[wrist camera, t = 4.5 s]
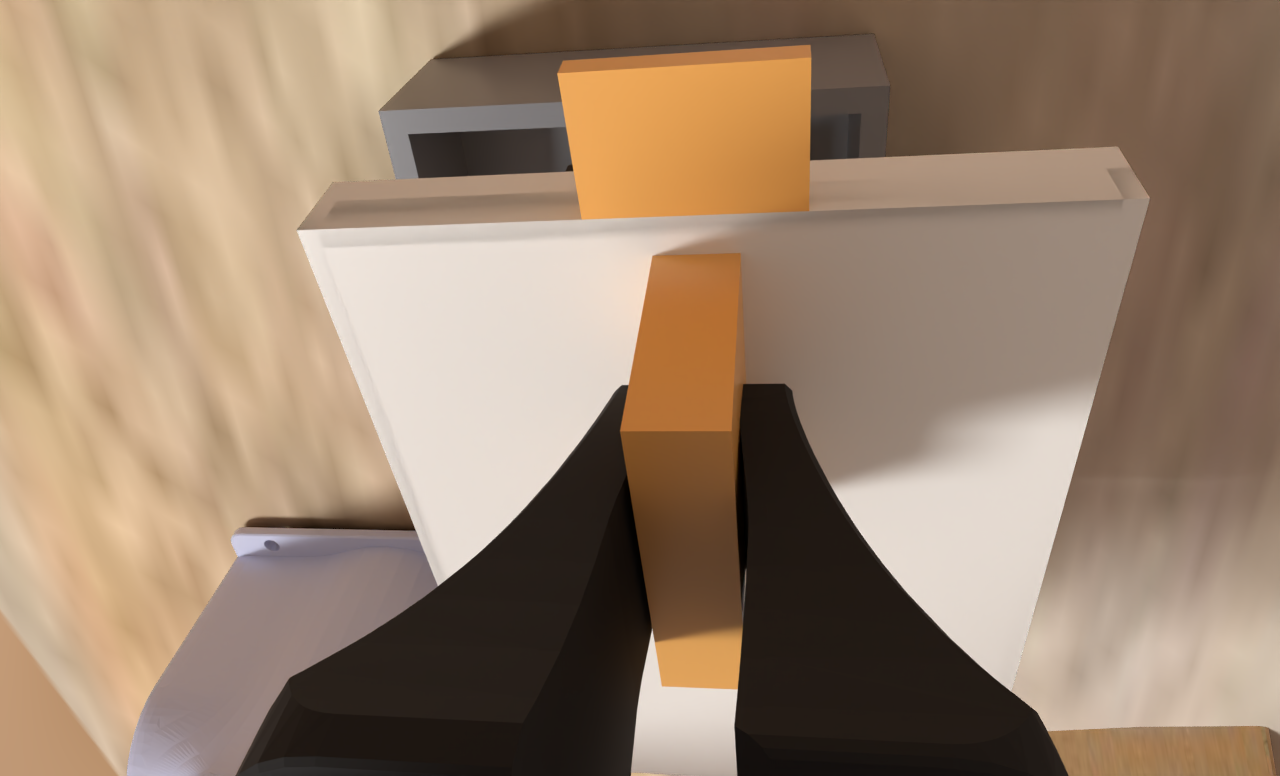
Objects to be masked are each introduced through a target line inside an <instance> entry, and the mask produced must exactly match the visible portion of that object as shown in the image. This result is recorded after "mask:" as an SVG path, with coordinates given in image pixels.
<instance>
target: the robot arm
mask: <svg viewBox="0 0 1280 776" xmlns="http://www.w3.org/2000/svg"><path fill="white" fill-rule="evenodd" d="M628 386H629V385H621V386H620V387H619V388H618V389H617V390H616V391H615V392H614V393H613V395H612V397H611V398H610V400H609V401H608V403H607V404H606V406H605V407H604V409H603V410H602V412H601V413H600V414H599V416H598V417H597V419H596V420H595V422H594V423H593V424H592V426H591V427H590V429H589V430H588V431H587V433H586V434H585V435H584V437H583V438H582V440H581V441H580V442H579V444H578V445H577V446H576V447H575V449H574V450H573V451H572V452H571V454H570V455H569V456H568V458H567V459H566V460H565V461H564V463H563V464H562V465H561V467H560V468H559V469H558V470H557V472H556V473H555V474H554V475H553V476H552V478H551V479H550V480H549V481H548V482H547V483H546V484H545V486H544V487H543V488H542V489H541V490H540V491H539V492H538V493H537V495H536V496H535V497H534V498H533V499H532V500H531V501H530V502H529V504H528V505H527V506H526V507H525V508H524V509H523V510H522V511H521V512H520V513H519V515H518V516H517V517H516V518H515V519H514V520H513V521H512V522H511V523H510V524H509V525H508V526H507V527H506V528H505V529H504V530H503V531H502V532H501V533H500V534H499V535H498V536H497V537H495V538H494V539H493V540H492V541H491V542H490V543H489V544H488V545H487V546H486V547H485V548H484V549H483V550H481V551H480V552H479V553H478V554H477V555H476V556H475V557H474V558H472V559H471V560H470V561H469V562H468V563H466V564H465V565H464V566H463V567H462V568H460V569H459V570H458V571H457V572H455V573H454V574H453V575H452V576H450V577H449V578H448V579H446V580H445V581H444V582H443V583H441V584H440V585H439V586H438V585H437V582H436V580H435V577H434V575H433V572H432V570H431V567H430V565H429V562H428V560H427V557H426V555H425V552H424V550H423V547H422V545H421V542H420V540H419V537H418V534H417V532H416V531H400V530H353V529H306V528H259V527H242V528H239V529H237V530H236V531H235V533H234V534H233V536H232V538H231V543H232V546H233V548H234V550H235V552H236V554H237V556H238V557H237V559H236V560H235V562H234V563H233V565H232V566H231V568H230V570H229V571H228V573H227V574H226V576H225V577H224V579H223V580H222V582H221V584H220V585H219V587H218V588H217V590H216V591H215V593H214V594H213V596H212V598H211V599H210V601H209V602H208V604H207V605H206V607H205V609H204V610H203V612H202V613H201V615H200V616H199V618H198V619H197V621H196V623H195V624H194V626H193V627H192V629H191V630H190V632H189V633H188V635H187V637H186V638H185V640H184V641H183V643H182V644H181V646H180V648H179V649H178V651H177V652H176V654H175V655H174V657H173V658H172V660H171V662H170V663H169V665H168V666H167V668H166V669H165V671H164V672H163V674H162V676H161V677H160V679H159V680H158V682H157V683H156V685H155V687H154V688H153V690H152V692H151V694H150V695H149V697H148V699H147V701H146V703H145V706H144V708H143V710H142V713H141V715H140V718H139V721H138V724H137V727H136V729H135V733H134V737H133V740H132V744H131V749H130V754H129V759H128V767H127V776H631V766H632V757H633V747H634V737H635V727H636V717H637V707H638V701H639V695H640V688H641V682H642V676H643V672H644V667H645V662H646V657H647V652H648V647H649V643H650V638H651V633H652V623H651V617H650V611H649V605H648V599H647V593H646V586H645V580H644V574H643V568H642V562H641V556H640V550H639V544H638V538H637V532H636V525H635V519H634V513H633V507H632V501H631V495H630V489H629V483H628V477H627V471H626V464H625V458H624V452H623V446H622V440H621V434H620V429H621V424H622V418H623V413H624V407H625V402H626V396H627V391H628ZM740 442H741V466H742V490H743V513H744V537H745V561H746V585H745V601H744V616H743V630H742V643H741V657H740V668H739V680H738V691H737V702H736V713H735V723H734V730H735V747H736V763H737V776H1069V775H1068V773H1067V771H1066V768H1065V766H1064V764H1063V762H1062V760H1061V758H1060V755H1059V753H1058V751H1057V749H1056V747H1055V745H1054V743H1053V741H1052V739H1051V737H1050V735H1049V733H1048V732H1047V730H1046V728H1045V726H1044V724H1043V722H1042V720H1041V719H1040V717H1039V715H1038V713H1037V712H1036V711H1035V710H1034V709H1032V708H1031V707H1030V706H1029V705H1027V704H1026V703H1025V702H1024V701H1022V700H1021V699H1020V698H1019V697H1017V696H1016V695H1015V694H1014V693H1012V692H1011V691H1010V690H1009V689H1007V688H1006V687H1005V686H1004V685H1002V684H1001V683H1000V682H999V681H997V680H996V679H995V678H994V677H993V676H991V675H990V674H989V673H988V672H987V671H985V670H984V669H983V668H982V667H981V666H980V665H979V664H978V663H976V662H975V661H974V660H973V659H972V658H971V657H970V656H969V655H968V654H967V653H966V652H965V651H964V650H962V649H961V648H960V647H959V646H958V645H957V644H956V643H955V642H954V641H953V640H952V639H951V638H950V637H949V636H948V635H947V634H946V633H945V632H944V631H943V630H942V629H941V628H940V627H939V626H938V625H937V624H936V623H935V622H934V621H933V620H932V618H931V617H930V616H929V615H928V614H927V613H926V612H925V611H924V610H923V609H922V608H921V607H920V606H919V605H918V604H917V603H916V602H915V601H914V600H913V598H912V597H911V596H910V595H909V594H908V593H907V592H906V591H905V590H904V589H903V587H902V586H901V585H900V584H899V582H898V581H897V580H896V579H895V578H894V576H893V575H892V574H891V573H890V572H889V570H888V569H887V568H886V567H885V566H884V564H883V563H882V562H881V560H880V559H879V558H878V556H877V555H876V554H875V552H874V551H873V550H872V548H871V547H870V546H869V544H868V543H867V542H866V540H865V539H864V537H863V536H862V535H861V533H860V532H859V530H858V529H857V527H856V526H855V524H854V523H853V521H852V520H851V518H850V517H849V515H848V513H847V512H846V510H845V509H844V507H843V505H842V504H841V502H840V501H839V499H838V497H837V496H836V494H835V492H834V490H833V489H832V487H831V485H830V483H829V482H828V480H827V478H826V476H825V474H824V472H823V470H822V468H821V466H820V464H819V462H818V460H817V458H816V456H815V455H814V452H813V450H812V448H811V446H810V444H809V442H808V439H807V437H806V434H805V432H804V430H803V427H802V425H801V422H800V419H799V416H798V413H797V410H796V407H795V403H794V399H793V392H792V390H791V389H790V388H789V387H788V386H787V385H786V384H743V391H742V400H741V411H740Z"/></svg>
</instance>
